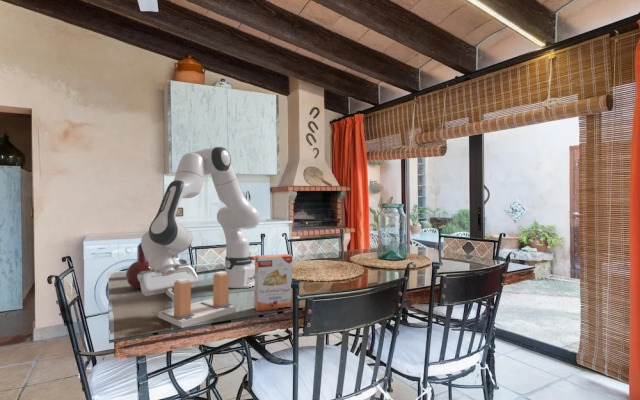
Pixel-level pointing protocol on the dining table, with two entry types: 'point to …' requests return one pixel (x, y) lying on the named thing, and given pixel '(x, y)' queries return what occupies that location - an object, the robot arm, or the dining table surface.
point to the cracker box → (272, 281)
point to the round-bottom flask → (137, 270)
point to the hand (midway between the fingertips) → (178, 299)
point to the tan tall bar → (220, 288)
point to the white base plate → (197, 313)
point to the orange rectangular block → (182, 297)
